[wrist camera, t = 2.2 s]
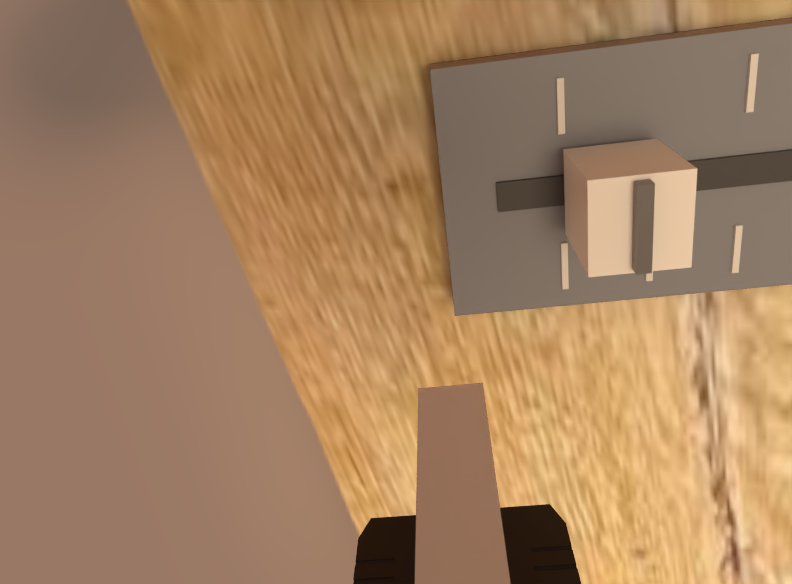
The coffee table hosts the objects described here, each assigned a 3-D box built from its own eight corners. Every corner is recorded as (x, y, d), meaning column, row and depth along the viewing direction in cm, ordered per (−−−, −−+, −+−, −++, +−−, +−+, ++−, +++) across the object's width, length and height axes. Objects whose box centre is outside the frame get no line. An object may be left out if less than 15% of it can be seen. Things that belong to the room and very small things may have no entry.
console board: (429, 64, 31) (429, 70, 29) (1068, -19, 29) (1116, -18, 26) (453, 298, 36) (455, 317, 34) (998, 246, 34) (1034, 264, 32)
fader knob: (563, 149, 30) (590, 185, 25) (656, 138, 30) (703, 172, 24) (565, 233, 32) (591, 283, 27) (653, 224, 31) (696, 273, 26)
